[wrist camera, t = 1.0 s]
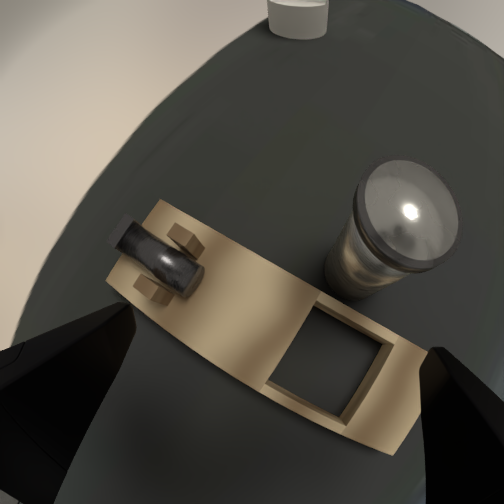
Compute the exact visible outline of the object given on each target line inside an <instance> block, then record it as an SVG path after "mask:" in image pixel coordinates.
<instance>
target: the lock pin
mask: <svg viewBox="0 0 504 504" xmlns="http://www.w3.org/2000/svg"><path fill="white" fill-rule="evenodd" d="M106 242H108V243H109V244H110V245H111V246H113V247H114V248H115V249H117V250H118V251H120V252H122V253H123V254H125V255H127V256H128V257H129V258H131V259H132V260H133V261H135V262H136V263H137V264H139V265H140V266H141V267H143V268H144V269H145V270H147V271H148V272H149V273H151V274H152V275H154V276H155V277H156V278H158V279H159V280H160V281H162V282H163V283H165V284H166V285H167V286H169V287H170V288H172V289H173V290H174V291H176V292H177V293H179V294H180V295H182V296H183V297H188V296H190V295H191V294H192V293H193V292H194V291H195V290H196V289H197V287H198V286H199V284H200V283H201V281H202V279H203V276H204V273H205V268H204V267H203V266H202V265H200V264H199V263H197V262H196V261H194V260H192V259H191V258H189V257H188V256H186V255H185V254H183V253H181V252H180V251H178V250H177V249H175V248H174V247H172V246H171V245H169V244H168V243H166V242H165V241H163V240H161V239H160V238H158V237H157V236H155V235H154V234H152V233H151V232H149V231H148V230H146V229H145V228H144V227H143V226H142V225H140V224H139V223H138V222H137V221H136V220H135V219H134V218H132V217H131V216H129V215H128V214H126V213H125V214H124V216H123V217H122V219H121V220H120V222H119V223H118V224H117V226H116V227H115V229H114V230H113V232H112V233H111V235H110V236H109V238H108V239H107V241H106Z"/></svg>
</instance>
